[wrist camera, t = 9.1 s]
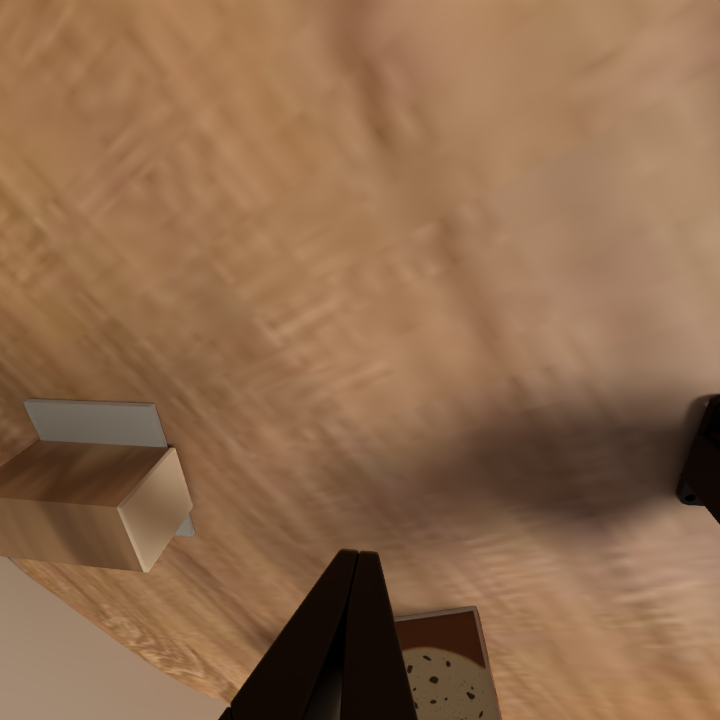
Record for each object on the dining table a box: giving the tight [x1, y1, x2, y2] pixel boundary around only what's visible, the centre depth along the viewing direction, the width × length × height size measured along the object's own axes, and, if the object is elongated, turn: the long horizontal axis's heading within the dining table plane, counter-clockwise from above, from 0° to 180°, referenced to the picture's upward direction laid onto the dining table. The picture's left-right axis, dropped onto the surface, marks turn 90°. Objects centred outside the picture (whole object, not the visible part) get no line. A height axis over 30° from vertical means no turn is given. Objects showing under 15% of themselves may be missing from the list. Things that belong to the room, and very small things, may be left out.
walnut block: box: [0, 440, 193, 572], centre depth 25 cm, size 5×5×10 cm
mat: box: [23, 399, 195, 537], centre depth 28 cm, size 9×11×1 cm
